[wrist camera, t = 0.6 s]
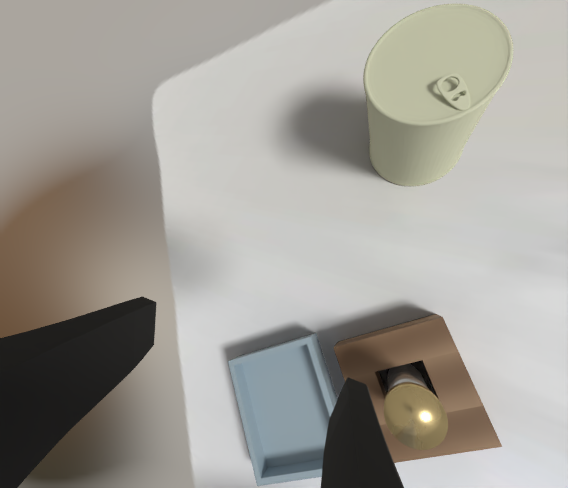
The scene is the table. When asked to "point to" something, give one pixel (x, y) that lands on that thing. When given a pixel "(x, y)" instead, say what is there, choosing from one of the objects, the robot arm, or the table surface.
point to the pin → (413, 409)
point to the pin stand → (442, 374)
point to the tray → (285, 408)
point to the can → (432, 88)
